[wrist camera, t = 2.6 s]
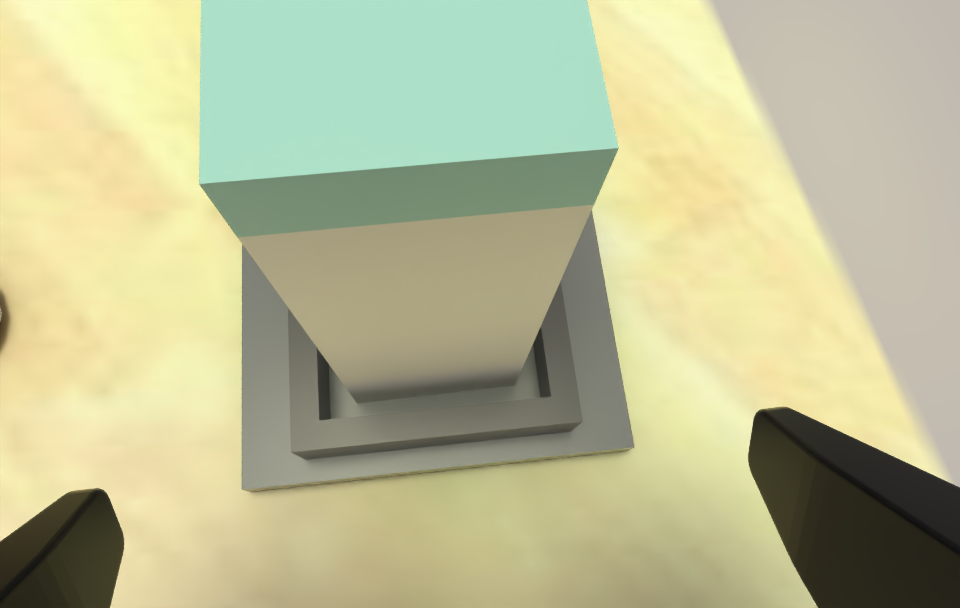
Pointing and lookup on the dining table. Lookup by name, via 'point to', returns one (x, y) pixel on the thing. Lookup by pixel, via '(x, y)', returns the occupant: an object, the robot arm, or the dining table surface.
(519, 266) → the plug
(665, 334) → the dining table surface
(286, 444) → the board
